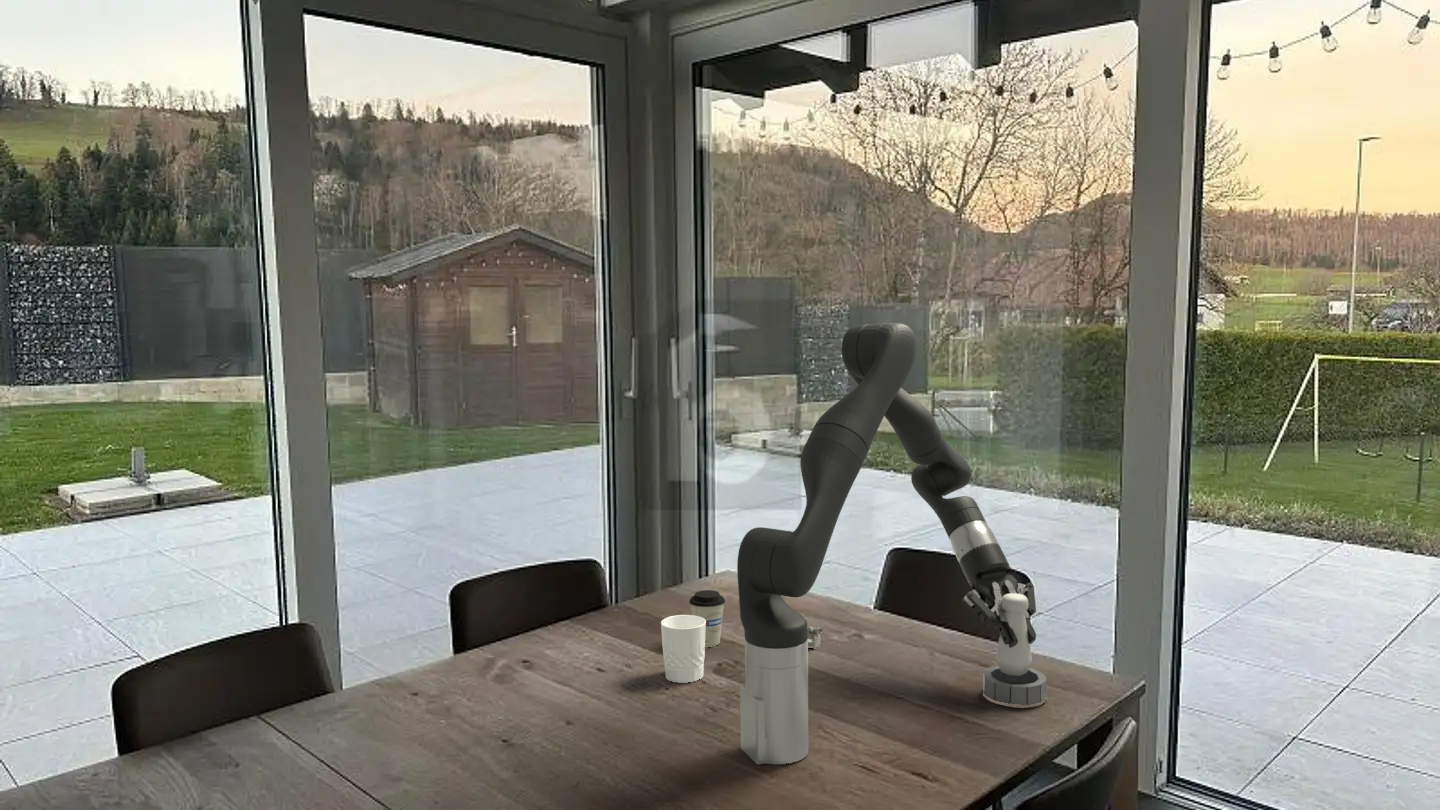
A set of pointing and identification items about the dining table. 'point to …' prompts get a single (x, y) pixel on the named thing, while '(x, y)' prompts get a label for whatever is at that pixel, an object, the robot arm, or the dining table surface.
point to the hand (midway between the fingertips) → (1022, 643)
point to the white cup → (683, 647)
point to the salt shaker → (1020, 654)
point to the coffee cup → (709, 613)
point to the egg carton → (814, 636)
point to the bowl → (1015, 686)
